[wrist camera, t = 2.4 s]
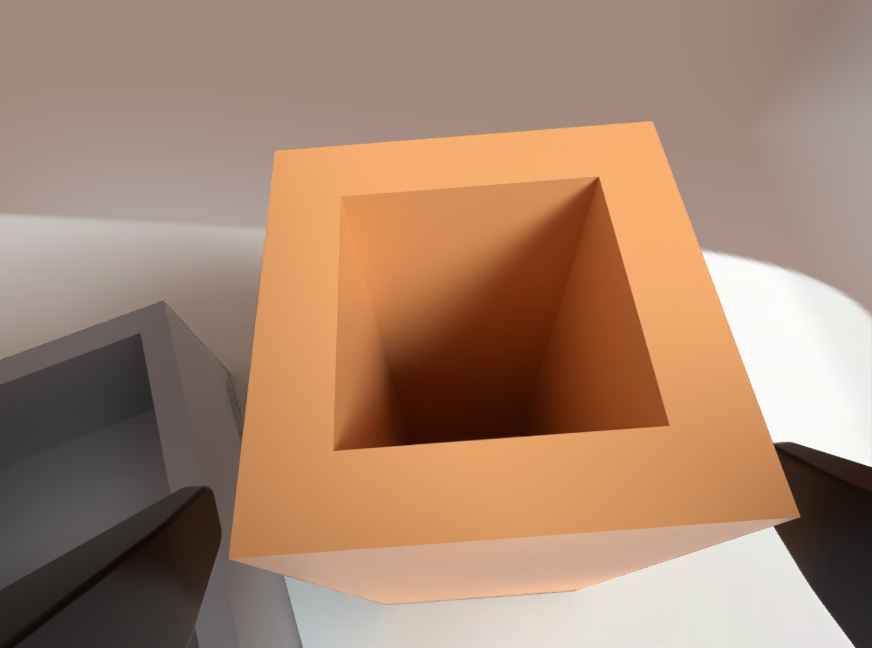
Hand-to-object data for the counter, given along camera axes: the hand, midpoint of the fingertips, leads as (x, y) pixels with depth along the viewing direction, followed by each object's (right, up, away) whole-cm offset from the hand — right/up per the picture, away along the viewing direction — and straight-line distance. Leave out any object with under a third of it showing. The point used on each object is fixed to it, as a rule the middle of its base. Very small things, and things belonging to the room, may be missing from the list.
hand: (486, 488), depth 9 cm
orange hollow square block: (0, -3, +9) cm, 9 cm away
